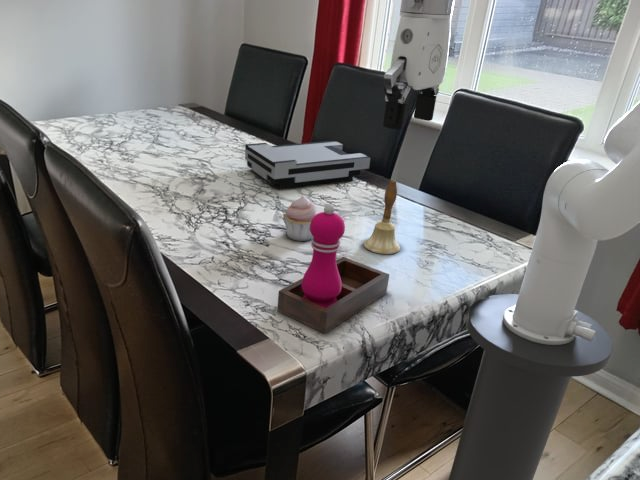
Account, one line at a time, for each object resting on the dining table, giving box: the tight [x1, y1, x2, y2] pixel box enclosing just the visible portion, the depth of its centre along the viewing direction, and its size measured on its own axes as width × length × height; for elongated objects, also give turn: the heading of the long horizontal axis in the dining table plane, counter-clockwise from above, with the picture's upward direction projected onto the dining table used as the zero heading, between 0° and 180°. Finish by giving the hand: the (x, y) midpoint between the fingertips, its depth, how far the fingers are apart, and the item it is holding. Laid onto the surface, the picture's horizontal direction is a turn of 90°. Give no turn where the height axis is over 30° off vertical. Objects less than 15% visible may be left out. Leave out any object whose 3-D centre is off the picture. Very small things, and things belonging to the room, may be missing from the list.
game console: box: [244, 140, 371, 191], centre depth 177 cm, size 21×32×8 cm, turn 114°
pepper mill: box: [301, 203, 346, 308], centre depth 102 cm, size 7×7×20 cm
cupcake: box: [282, 195, 319, 242], centre depth 135 cm, size 9×9×10 cm
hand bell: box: [363, 179, 401, 255], centre depth 130 cm, size 8×8×16 cm
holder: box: [277, 256, 390, 335], centre depth 109 cm, size 11×21×4 cm, turn 138°
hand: (408, 123), depth 93 cm, fingers open, 9 cm apart
